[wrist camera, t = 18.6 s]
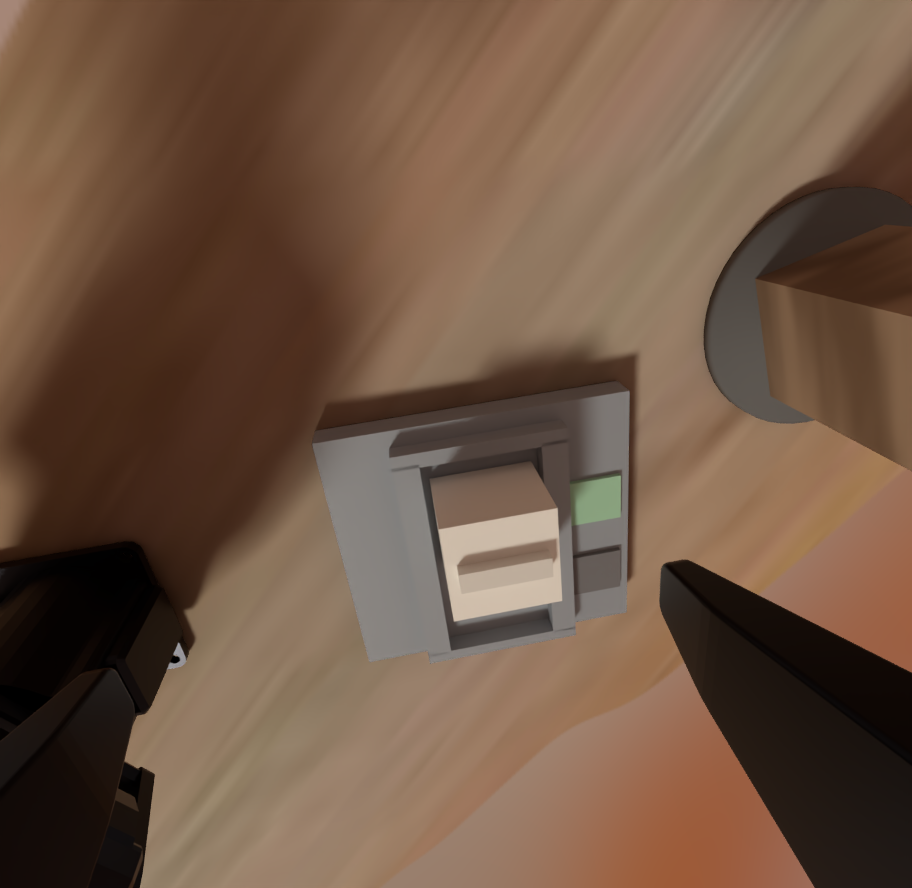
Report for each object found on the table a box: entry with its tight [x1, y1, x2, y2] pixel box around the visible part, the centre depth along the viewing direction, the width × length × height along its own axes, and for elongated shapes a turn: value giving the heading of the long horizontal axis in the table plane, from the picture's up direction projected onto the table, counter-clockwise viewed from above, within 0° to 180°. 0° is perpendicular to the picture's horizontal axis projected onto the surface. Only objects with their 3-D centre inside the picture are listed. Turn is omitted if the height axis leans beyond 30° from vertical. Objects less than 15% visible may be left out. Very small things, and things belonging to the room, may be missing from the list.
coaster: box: [704, 187, 912, 424], centre depth 22 cm, size 9×9×1 cm
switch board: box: [312, 381, 630, 664], centre depth 23 cm, size 12×11×2 cm
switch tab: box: [429, 461, 562, 622], centre depth 20 cm, size 4×4×4 cm
